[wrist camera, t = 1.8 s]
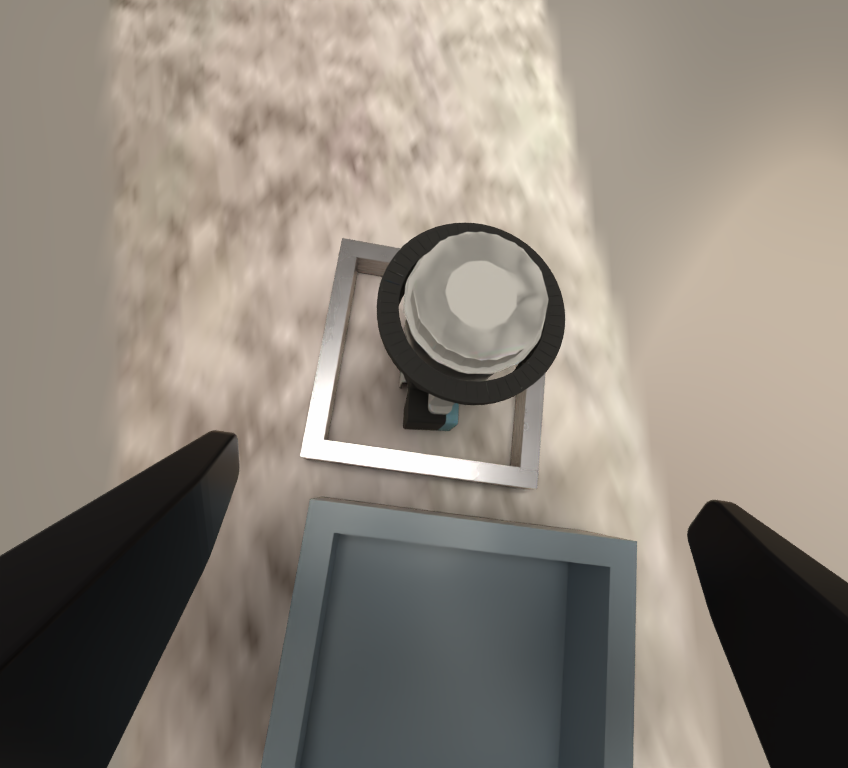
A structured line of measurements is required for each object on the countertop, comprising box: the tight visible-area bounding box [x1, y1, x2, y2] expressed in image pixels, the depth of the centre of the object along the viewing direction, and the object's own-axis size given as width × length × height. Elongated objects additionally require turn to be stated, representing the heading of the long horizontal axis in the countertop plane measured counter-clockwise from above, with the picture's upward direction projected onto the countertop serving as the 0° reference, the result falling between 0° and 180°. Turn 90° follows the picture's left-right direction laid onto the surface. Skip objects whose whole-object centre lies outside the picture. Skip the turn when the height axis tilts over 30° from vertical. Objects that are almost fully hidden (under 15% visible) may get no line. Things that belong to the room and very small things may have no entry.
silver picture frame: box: [300, 238, 545, 489], centre depth 21 cm, size 10×10×2 cm
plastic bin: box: [261, 497, 637, 768], centre depth 17 cm, size 12×12×4 cm
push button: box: [377, 223, 565, 431], centre depth 17 cm, size 7×5×10 cm
